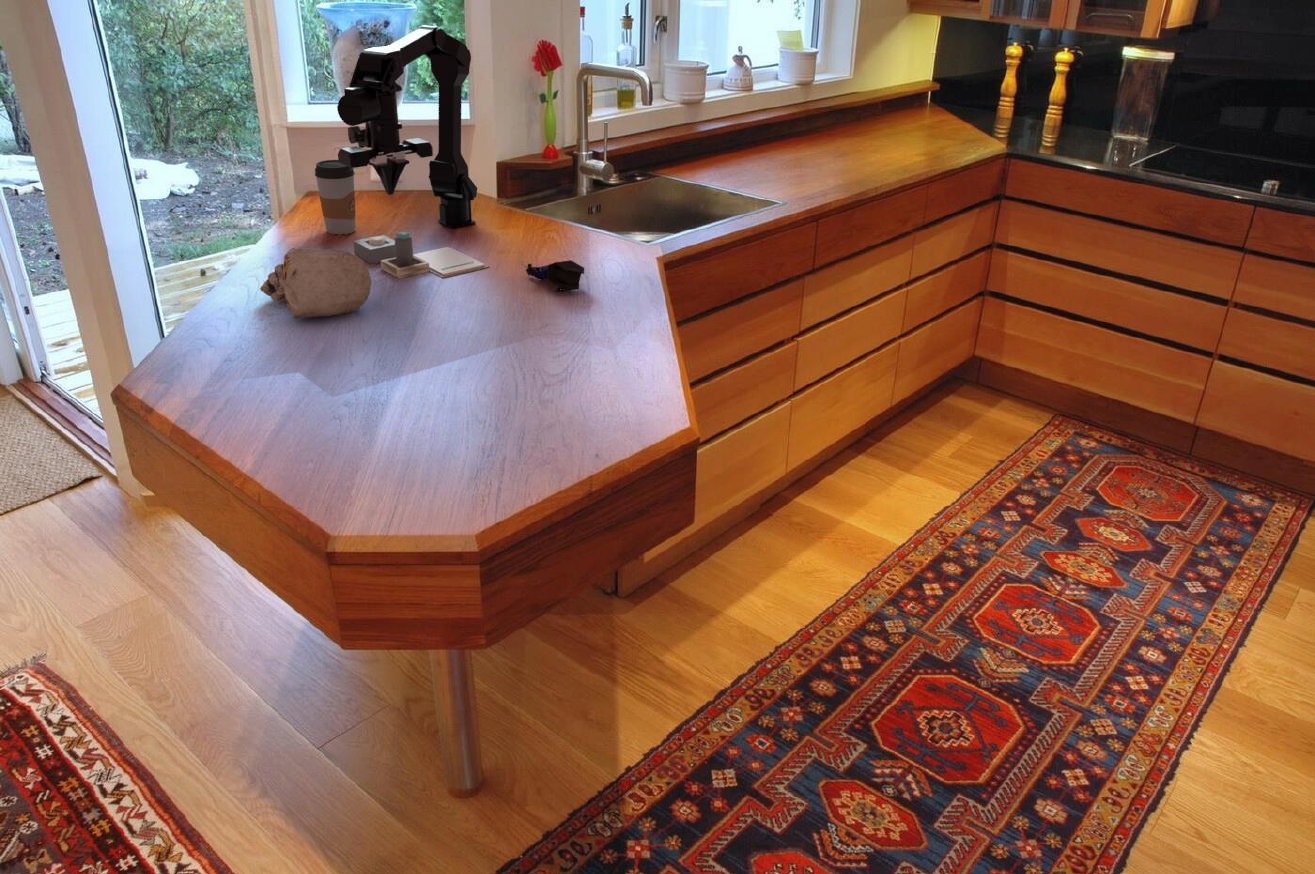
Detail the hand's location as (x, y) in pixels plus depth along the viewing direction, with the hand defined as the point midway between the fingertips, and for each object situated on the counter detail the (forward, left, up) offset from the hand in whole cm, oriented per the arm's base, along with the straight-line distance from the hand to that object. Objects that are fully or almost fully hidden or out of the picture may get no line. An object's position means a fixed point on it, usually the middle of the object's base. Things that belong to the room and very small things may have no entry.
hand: (390, 194), depth 208 cm
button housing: (+4, 0, -12) cm, 13 cm away
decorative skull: (+27, +20, -13) cm, 36 cm away
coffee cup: (+2, -20, -13) cm, 24 cm away
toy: (-15, +36, -13) cm, 41 cm away
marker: (+4, +11, -12) cm, 17 cm away
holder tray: (+4, +11, -12) cm, 17 cm away
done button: (+4, 0, -12) cm, 12 cm away
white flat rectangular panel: (-5, +12, -12) cm, 18 cm away
